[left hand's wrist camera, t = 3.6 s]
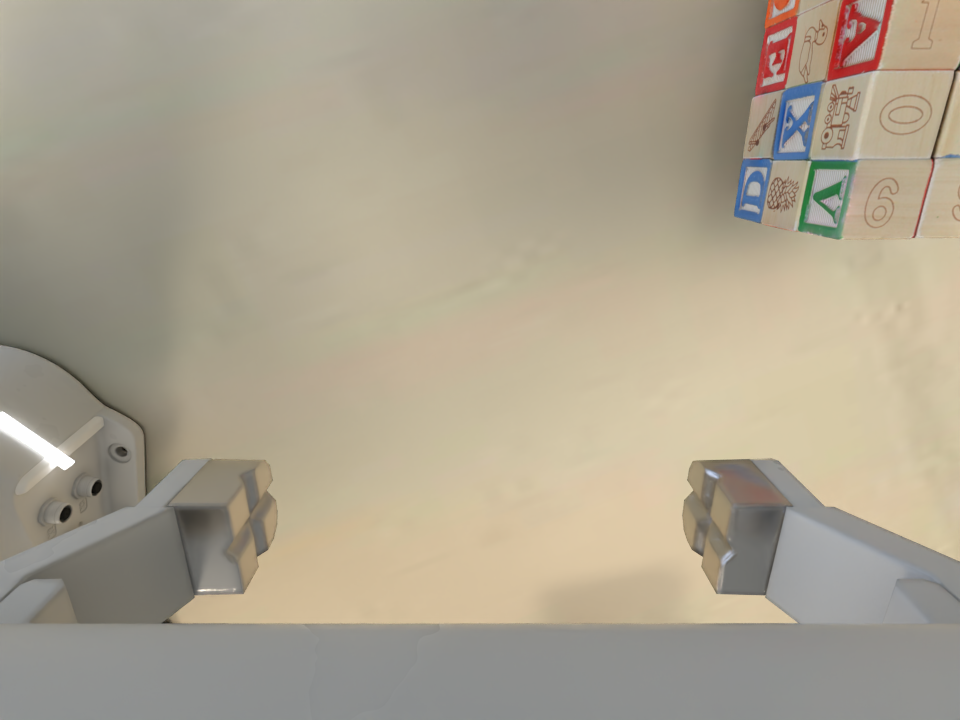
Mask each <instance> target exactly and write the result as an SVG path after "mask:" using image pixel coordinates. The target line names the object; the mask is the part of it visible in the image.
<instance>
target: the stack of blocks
mask: <svg viewBox="0 0 960 720" xmlns="http://www.w3.org/2000/svg"><path fill="white" fill-rule="evenodd" d="M765 30H766V32H765V35H764V41H763V46H762V51H761V57H760V64H759V72H758V76H757V83H756V89H755V94H756V95H755V97H753V99H752V102H751V108H750V115H749V121H748V127H747V133H746V139H745V145H744V152H743V163H742V167H741V172H740V179H739V185H738V192H737V198H736V205H735V212H734V216H735V217H737V218H741V219H745V220H749V221H753V222H757V223H763V224H764V225H768V226H772V227H776V228H781V229H785V230H790V231H800V232H804V233H808V234H813V235H818V236H823V237H828V238H833V239H839V240H865V239H911V238H960V0H769V2H768V8H767V15H766V21H765Z"/></svg>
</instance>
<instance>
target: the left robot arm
mask: <svg viewBox="0 0 960 720" xmlns="http://www.w3.org/2000/svg"><path fill="white" fill-rule="evenodd" d="M122 447H123V448H125V449H126V450H127V452H126V451H124V450H123V449H122ZM272 481H273V479H272V474H271V469H270V465H269V464H268V463H267V462H266V460H239V459H187V460H182V461H181V462H180V463H179V464H178V465H177V466H176V467H175V468H174V469H173V470H172V471H171V472H170V473H169V474H168V475H167V476H166V477H165V478H164V479H163V480H162V481H161V482H160V483H159V484H158V485H157V486H156V487H155V488H154V489H153V490H151V491H150V492H149V493H148V494H147V495H146V488H145V447H144V433H143V431H142V429H141V428H140V426H139V425H138V424H137V423H135V422H134V421H133V420H131V419H130V418H128V417H126V416H124V415H122V414H121V413H119V412H117V411H115V410H113V409H111V408H109V407H107V406H105V405H104V404H102V403H101V402H100V401H99V400H98V399H96V398H95V397H94V396H93V395H92V394H91V393H90V392H89V391H88V390H87V389H86V388H85V387H84V386H83V385H82V384H81V383H80V382H79V381H78V380H77V379H75V378H74V377H73V376H72V375H70V374H69V373H68V372H66V371H65V370H63V369H62V368H60V367H59V366H57V365H56V364H54V363H52V362H50V361H48V360H47V359H45V358H42V357H40V356H38V355H36V354H33V353H31V352H28V351H25V350H22V349H18V348H14V347H10V346H4V345H0V720H960V562H959V561H957V560H955V559H952V558H950V557H948V556H945V555H943V554H941V553H939V552H936V551H934V550H932V549H929V548H927V547H925V546H923V545H920V544H918V543H916V542H913V541H911V540H909V539H906V538H904V537H902V536H900V535H897V534H895V533H893V532H890V531H888V530H886V529H883V528H881V527H879V526H877V525H874V524H872V523H870V522H867V521H865V520H863V519H861V518H858V517H856V516H854V515H851V514H849V513H847V512H844V511H842V510H840V509H838V508H835V507H825V506H824V505H823V504H822V503H821V502H820V501H819V500H818V499H817V498H816V497H815V496H814V495H813V494H812V493H811V492H810V491H809V490H808V489H807V488H806V487H805V486H804V485H802V484H801V483H800V482H799V481H798V480H797V479H796V478H795V477H794V476H793V475H792V474H791V473H790V472H789V471H788V470H787V469H786V468H785V467H784V466H783V465H782V464H781V463H780V462H779V461H777V460H775V459H772V458H769V459H738V460H699V461H693V462H692V464H691V466H690V468H689V473H688V479H687V481H688V482H689V484H690V485H691V487H692V488H693V492H692V493H691V494H690V495H689V496H688V497H687V498H686V499H685V500H684V506H683V515H682V516H683V527H684V532H685V535H686V538H687V541H688V543H689V545H690V547H691V549H692V550H693V551H695V552H696V553H698V554H699V555H701V556H702V557H703V560H702V566H701V567H702V569H703V571H704V572H705V574H706V576H707V578H708V579H709V581H710V583H711V585H712V587H713V588H714V590H715V592H716V594H739V595H766V596H765V598H767V599H768V600H769V601H771V602H772V603H773V604H774V605H776V606H777V607H778V608H780V609H781V610H782V611H783V612H785V613H786V614H787V615H789V616H790V617H791V618H792V619H794V620H795V621H796V622H798V623H677V624H170V623H167V622H164V621H165V620H166V619H168V618H169V617H170V616H172V615H173V614H174V613H175V612H177V611H178V610H179V609H181V608H182V607H183V606H184V605H186V604H187V603H188V602H190V601H191V600H192V599H194V595H220V594H244V592H245V590H246V588H247V587H248V585H249V583H250V581H251V579H252V578H253V576H254V574H255V572H256V571H257V569H258V567H259V566H258V560H257V557H258V556H259V555H261V554H262V553H264V552H265V551H267V550H268V549H269V547H270V545H271V543H272V541H273V539H274V535H275V531H276V527H277V505H276V500H275V499H274V498H273V497H272V496H271V495H270V494H269V493H268V492H267V488H268V487H269V485H270V484H271V482H272Z"/></svg>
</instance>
